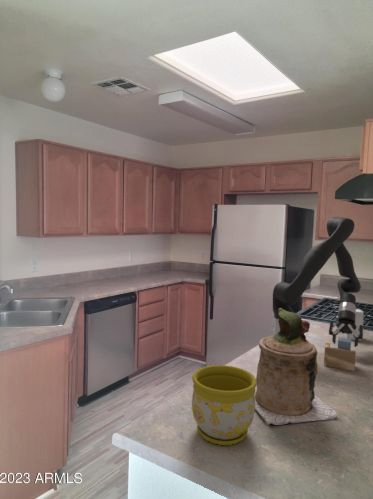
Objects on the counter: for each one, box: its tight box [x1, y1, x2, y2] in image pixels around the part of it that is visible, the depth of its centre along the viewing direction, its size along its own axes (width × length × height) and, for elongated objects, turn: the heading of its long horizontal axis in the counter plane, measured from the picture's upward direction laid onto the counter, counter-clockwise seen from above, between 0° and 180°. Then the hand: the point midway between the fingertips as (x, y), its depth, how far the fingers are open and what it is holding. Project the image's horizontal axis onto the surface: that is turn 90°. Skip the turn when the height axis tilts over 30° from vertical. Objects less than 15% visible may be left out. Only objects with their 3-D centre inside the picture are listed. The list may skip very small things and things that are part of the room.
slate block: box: [337, 337, 352, 350], centre depth 158 cm, size 5×5×11 cm
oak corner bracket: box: [323, 339, 357, 372], centre depth 159 cm, size 11×12×8 cm
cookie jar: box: [254, 308, 338, 426], centre depth 122 cm, size 25×25×32 cm
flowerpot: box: [191, 364, 257, 446], centre depth 104 cm, size 18×18×16 cm
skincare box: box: [342, 308, 365, 341], centre depth 195 cm, size 8×7×16 cm
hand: (344, 344), depth 165 cm, fingers open, 8 cm apart
